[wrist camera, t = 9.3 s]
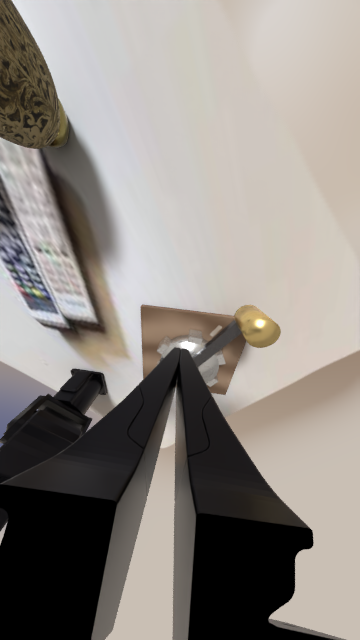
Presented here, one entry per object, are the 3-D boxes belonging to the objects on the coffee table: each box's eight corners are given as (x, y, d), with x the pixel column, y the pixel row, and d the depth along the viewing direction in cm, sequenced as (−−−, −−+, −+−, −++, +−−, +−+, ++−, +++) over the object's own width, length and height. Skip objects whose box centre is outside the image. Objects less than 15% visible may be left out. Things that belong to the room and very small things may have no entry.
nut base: (224, 390, 26) (225, 395, 25) (144, 379, 27) (143, 383, 26) (251, 318, 19) (254, 321, 18) (142, 304, 20) (140, 306, 19)
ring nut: (193, 388, 25) (193, 422, 20) (146, 357, 23) (132, 387, 18) (278, 327, 18) (311, 356, 13) (222, 275, 16) (236, 285, 11)
